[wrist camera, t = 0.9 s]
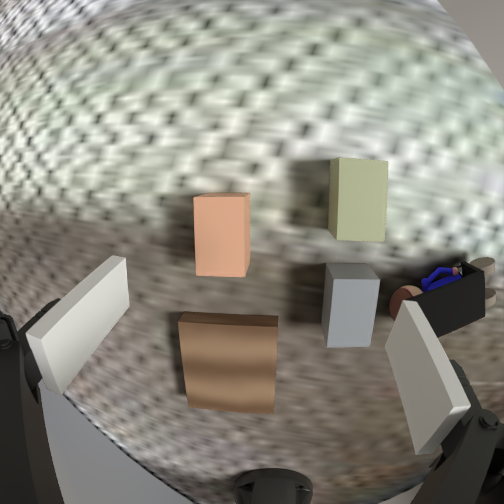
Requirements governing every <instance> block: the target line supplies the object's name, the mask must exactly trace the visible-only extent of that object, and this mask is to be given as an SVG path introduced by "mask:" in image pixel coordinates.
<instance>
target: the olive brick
mask: <svg viewBox="0 0 504 504" xmlns="http://www.w3.org/2000/svg"><path fill="white" fill-rule="evenodd" d="M387 190H388V161H379V160H367V159H354V158H336V159H332V160H330V184H329V216H328V230H329V231H330V233H331V234H332V235H333V236H334V238H335V239H336V240H351V241H383V242H384V238H385V225H386V210H387Z"/></svg>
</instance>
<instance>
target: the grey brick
mask: <svg viewBox="0 0 504 504" xmlns="http://www.w3.org/2000/svg"><path fill="white" fill-rule="evenodd" d="M379 285H380V279H379V278H378V277H377V275H376V274H375V273H374V272H373V271H372V270H371V268H370V267H369V266H368V265H367V264H359V263H326V271H325V285H324V297H323V309H322V319H321V325H322V329H323V334H324V338H325V342H326V346H327V347H370V342H371V336H372V331H373V325H374V319H375V313H376V306H377V299H378V292H379Z"/></svg>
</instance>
